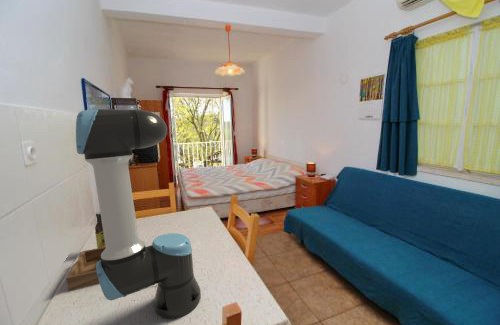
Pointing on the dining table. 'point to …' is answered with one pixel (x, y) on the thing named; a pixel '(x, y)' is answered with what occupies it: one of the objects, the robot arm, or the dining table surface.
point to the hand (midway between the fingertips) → (114, 199)
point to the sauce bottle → (99, 232)
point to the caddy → (85, 269)
